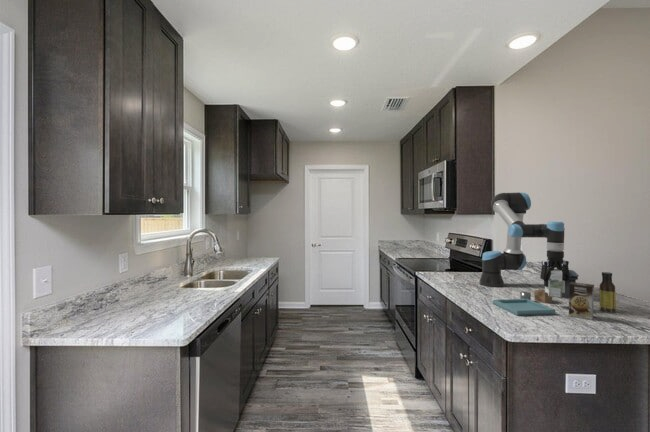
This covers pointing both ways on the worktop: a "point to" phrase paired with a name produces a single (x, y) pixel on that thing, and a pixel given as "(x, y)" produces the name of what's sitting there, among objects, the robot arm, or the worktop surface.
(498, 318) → the worktop surface
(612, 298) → the sauce bottle
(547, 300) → the walnut block
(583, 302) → the coffee box
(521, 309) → the tray
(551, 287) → the syrup box
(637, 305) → the worktop surface
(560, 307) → the worktop surface
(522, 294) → the grey metal cylinder
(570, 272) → the storage bin
